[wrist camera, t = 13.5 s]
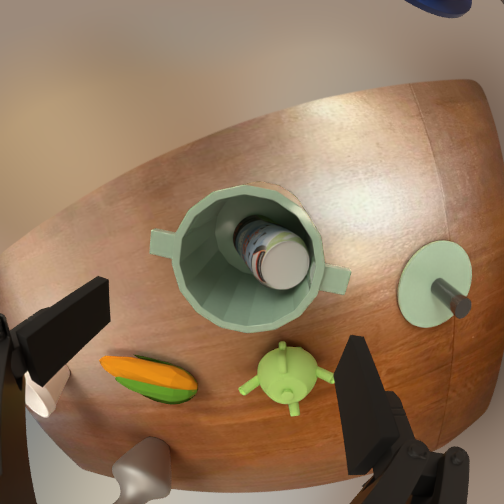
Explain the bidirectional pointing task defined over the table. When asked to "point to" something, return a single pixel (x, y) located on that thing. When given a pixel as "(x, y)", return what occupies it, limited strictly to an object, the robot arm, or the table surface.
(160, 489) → the vase
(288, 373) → the teapot
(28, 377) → the cup
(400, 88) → the table surface
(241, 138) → the table surface
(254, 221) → the beverage can
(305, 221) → the pot
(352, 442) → the robot arm
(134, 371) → the corn
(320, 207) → the table surface
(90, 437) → the table surface
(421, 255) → the lid
